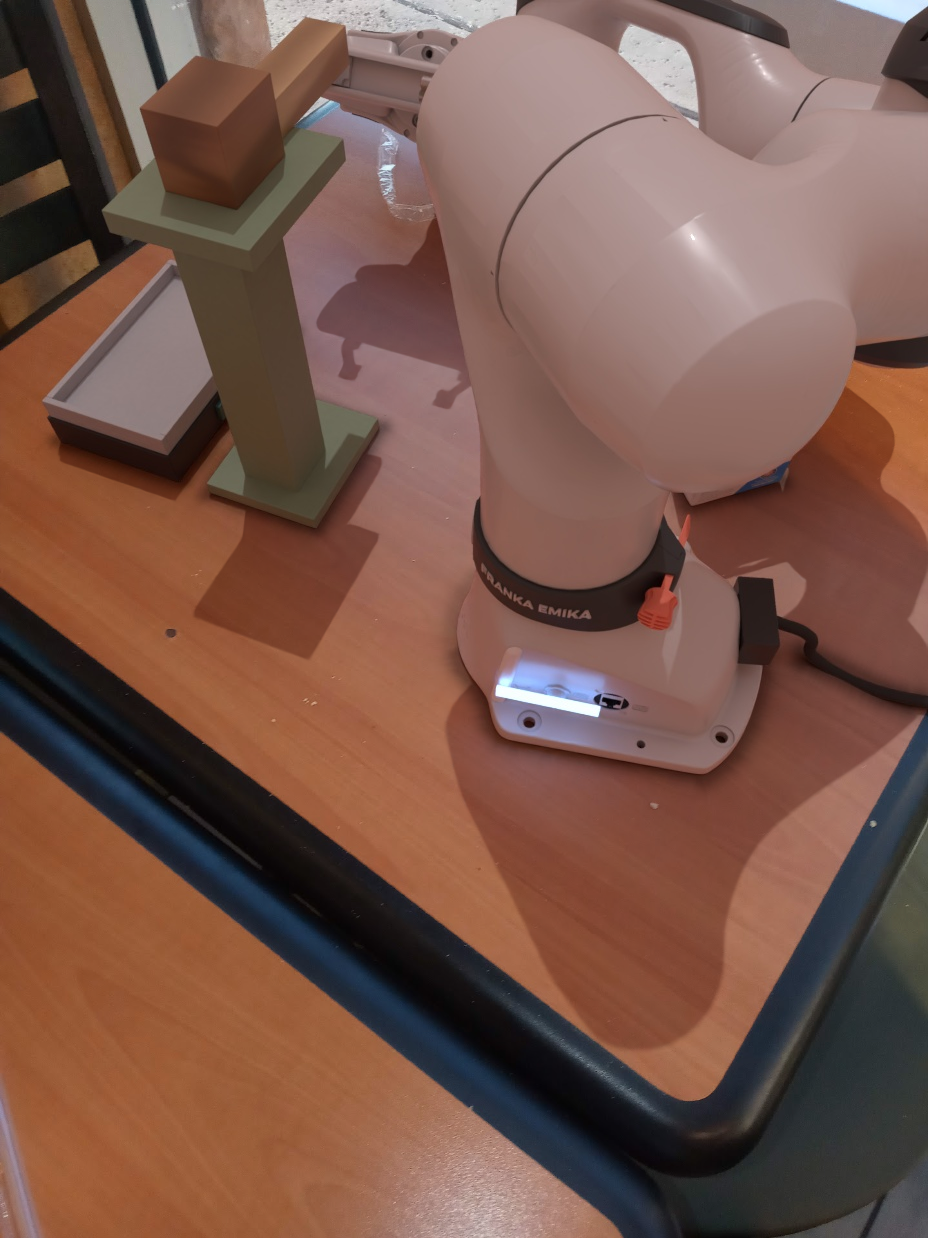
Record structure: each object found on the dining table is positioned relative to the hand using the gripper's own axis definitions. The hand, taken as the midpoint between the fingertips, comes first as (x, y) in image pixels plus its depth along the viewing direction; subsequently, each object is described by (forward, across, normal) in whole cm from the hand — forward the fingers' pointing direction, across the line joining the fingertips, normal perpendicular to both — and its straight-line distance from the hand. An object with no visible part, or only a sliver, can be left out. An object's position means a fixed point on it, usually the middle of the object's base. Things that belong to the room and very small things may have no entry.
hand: (370, 77), depth 68 cm
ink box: (-4, -34, -23) cm, 41 cm away
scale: (+2, +14, -27) cm, 30 cm away
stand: (+6, 0, -29) cm, 30 cm away
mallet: (+14, 0, -4) cm, 15 cm away
